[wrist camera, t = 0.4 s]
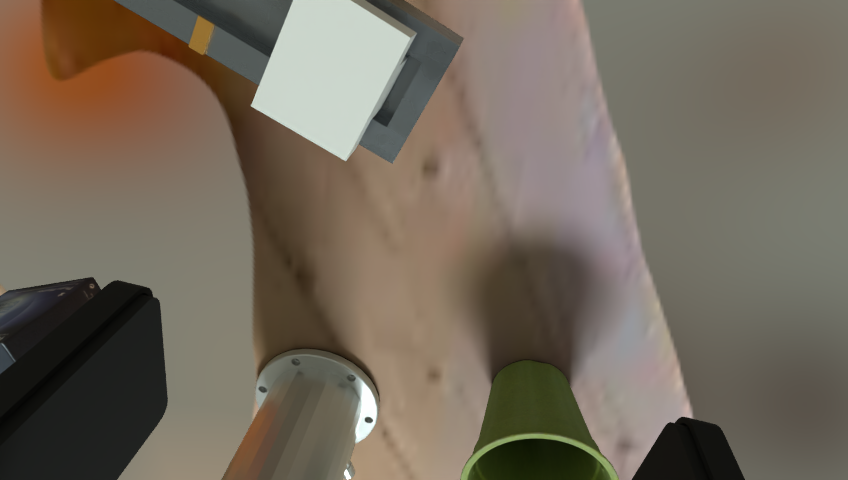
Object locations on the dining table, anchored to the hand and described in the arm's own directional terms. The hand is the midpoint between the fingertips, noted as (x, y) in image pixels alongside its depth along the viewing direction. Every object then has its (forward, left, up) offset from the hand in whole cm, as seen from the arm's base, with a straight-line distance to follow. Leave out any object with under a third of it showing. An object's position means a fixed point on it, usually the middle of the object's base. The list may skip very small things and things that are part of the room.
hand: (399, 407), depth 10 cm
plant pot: (-29, +1, -31) cm, 42 cm away
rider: (+5, +5, -21) cm, 22 cm away
